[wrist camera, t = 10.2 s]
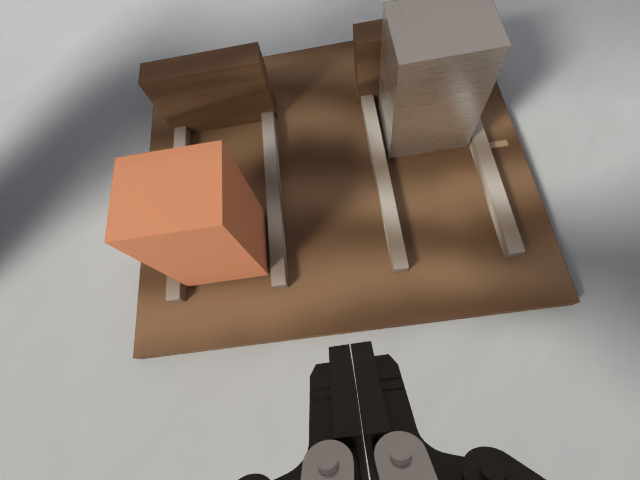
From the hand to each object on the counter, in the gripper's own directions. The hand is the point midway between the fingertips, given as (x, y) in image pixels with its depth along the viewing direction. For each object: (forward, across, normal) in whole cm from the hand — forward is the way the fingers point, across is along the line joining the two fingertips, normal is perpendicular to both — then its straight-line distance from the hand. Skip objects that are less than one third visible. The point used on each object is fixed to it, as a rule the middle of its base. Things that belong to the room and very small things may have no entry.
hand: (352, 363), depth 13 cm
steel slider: (+20, -8, -5) cm, 22 cm away
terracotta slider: (+15, +8, +1) cm, 17 cm away
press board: (+20, 0, -2) cm, 20 cm away
